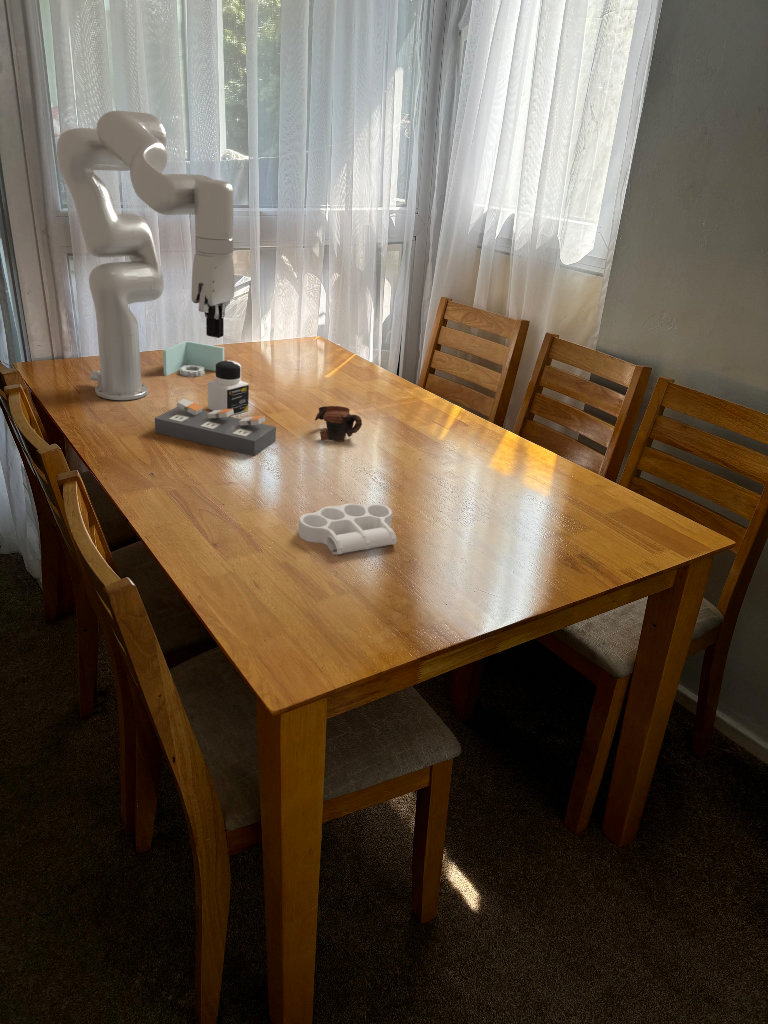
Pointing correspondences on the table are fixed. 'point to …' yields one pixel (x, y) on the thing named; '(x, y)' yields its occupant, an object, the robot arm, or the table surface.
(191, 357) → the right angle wall
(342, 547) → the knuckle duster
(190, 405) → the rocker
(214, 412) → the rocker
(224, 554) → the table surface
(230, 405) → the medicine bottle
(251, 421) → the rocker
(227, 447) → the power strip
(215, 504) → the table surface
